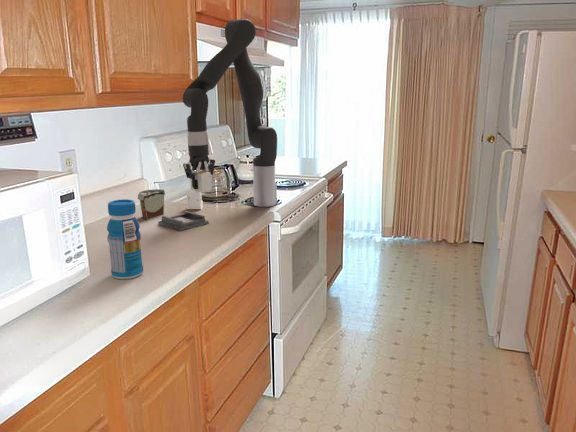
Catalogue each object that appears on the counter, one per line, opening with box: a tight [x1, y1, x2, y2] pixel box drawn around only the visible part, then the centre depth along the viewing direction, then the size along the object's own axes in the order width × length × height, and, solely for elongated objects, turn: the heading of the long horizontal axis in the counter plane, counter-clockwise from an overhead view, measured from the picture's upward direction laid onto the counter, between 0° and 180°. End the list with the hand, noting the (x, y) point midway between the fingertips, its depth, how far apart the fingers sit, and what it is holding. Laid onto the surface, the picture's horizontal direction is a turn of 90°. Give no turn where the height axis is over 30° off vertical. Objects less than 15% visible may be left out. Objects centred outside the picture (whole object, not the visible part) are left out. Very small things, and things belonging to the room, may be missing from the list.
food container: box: [137, 188, 166, 221], centre depth 189 cm, size 12×6×10 cm, turn 152°
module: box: [189, 170, 213, 193], centre depth 186 cm, size 4×7×7 cm, turn 48°
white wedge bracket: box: [186, 190, 204, 210], centre depth 202 cm, size 4×10×9 cm, turn 84°
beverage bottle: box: [106, 198, 144, 280], centre depth 128 cm, size 8×8×20 cm
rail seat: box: [157, 210, 210, 232], centre depth 179 cm, size 13×13×3 cm
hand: (201, 187), depth 187 cm, fingers closed on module, 4 cm apart
